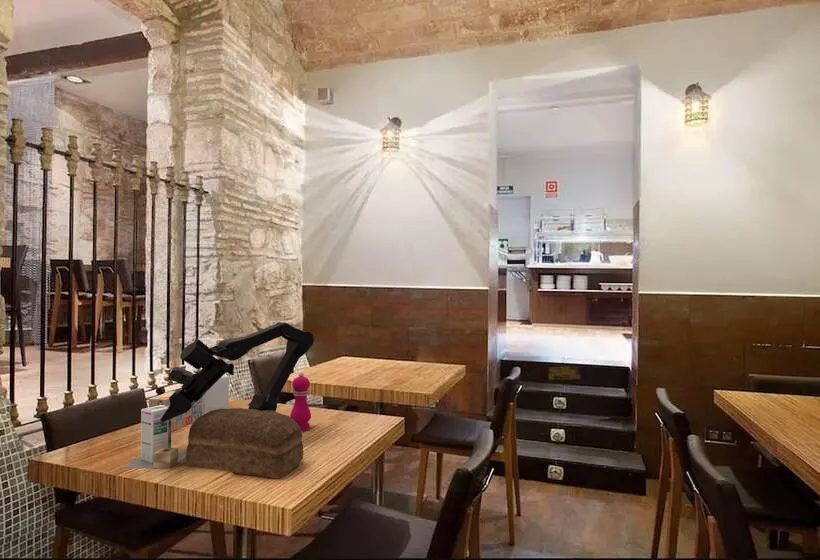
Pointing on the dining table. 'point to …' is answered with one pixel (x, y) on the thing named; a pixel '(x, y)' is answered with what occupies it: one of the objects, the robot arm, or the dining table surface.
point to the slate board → (144, 464)
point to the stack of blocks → (181, 419)
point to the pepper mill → (301, 402)
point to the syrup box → (154, 431)
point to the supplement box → (216, 396)
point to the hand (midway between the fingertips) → (166, 416)
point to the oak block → (165, 458)
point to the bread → (245, 442)
